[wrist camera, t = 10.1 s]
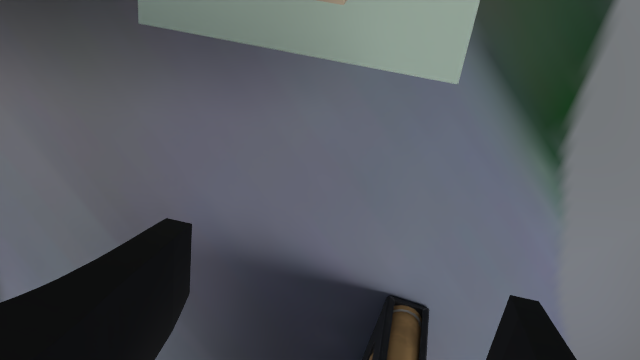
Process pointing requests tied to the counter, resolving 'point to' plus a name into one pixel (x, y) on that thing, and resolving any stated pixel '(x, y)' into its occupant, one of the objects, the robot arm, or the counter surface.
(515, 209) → the counter surface
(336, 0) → the beech block
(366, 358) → the ammunition clip
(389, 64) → the sage base block
